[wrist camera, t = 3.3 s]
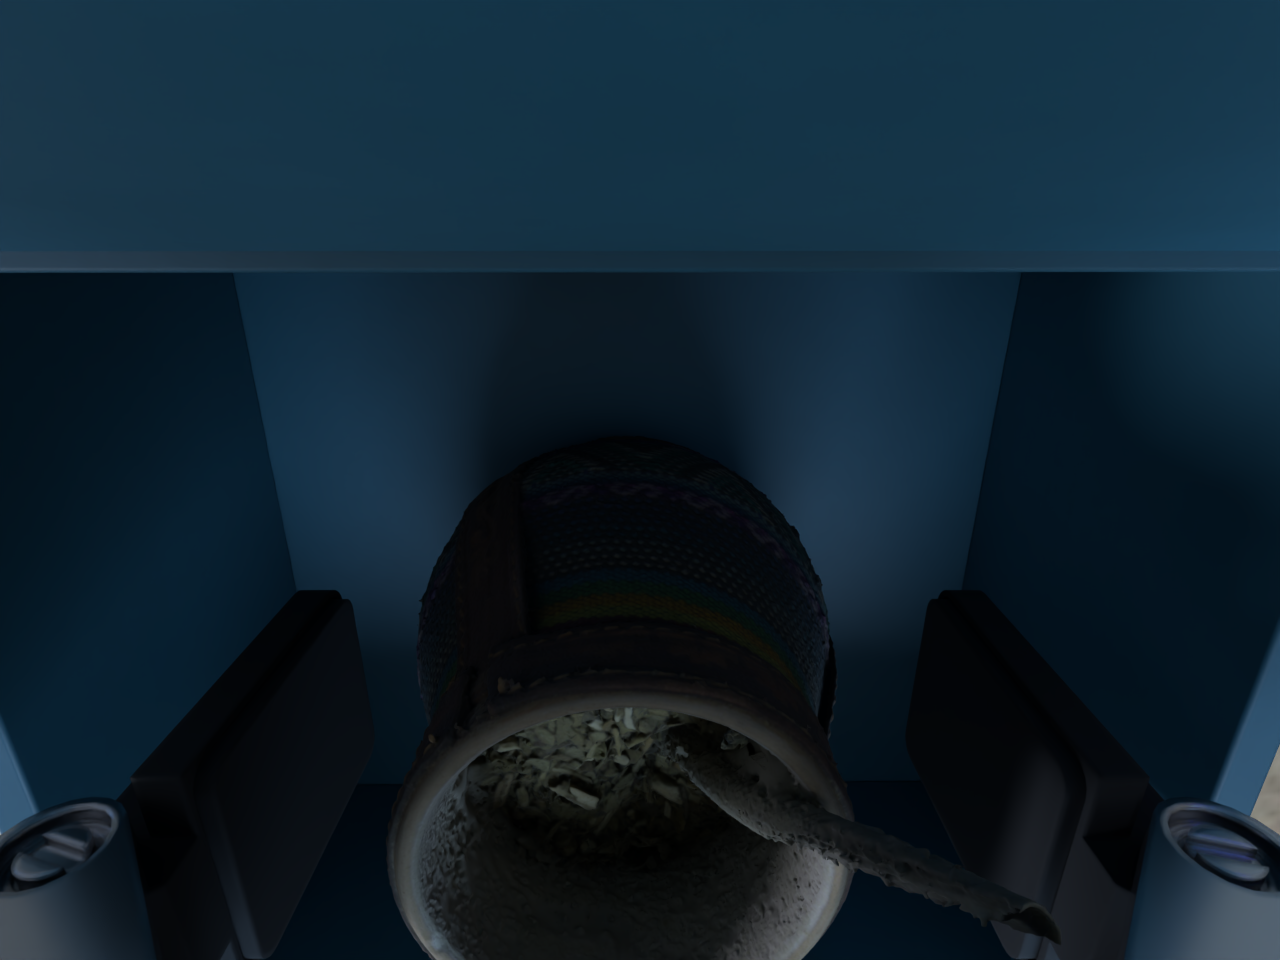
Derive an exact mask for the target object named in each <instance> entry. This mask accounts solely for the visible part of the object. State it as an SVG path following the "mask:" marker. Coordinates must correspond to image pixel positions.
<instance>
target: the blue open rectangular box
mask: <svg viewBox="0 0 1280 960" xmlns="http://www.w3.org/2000/svg"><path fill="white" fill-rule="evenodd" d="M611 436H612V437H613V436H621V437H622V436H634V437H635V436H644V437H647V438H653V439H658V440H664V441H667V442H671V443H674V444H676V445H681V446H684V447H687V448H689V449H691V450H694V451H696V452H699V453H700V454H702V455H704V456H706V457H708V458H711V459H714V460H718V462H719V463H721V464H722V465H723V466H725V467H727V468H729V469H730V470H732V471H735V472H736V473H737V474H738V475H740V476H741V477H742V478H744V479H746V480H748V481H749V482H750V483H752V484H753V486H754V487H755V488H756V489H758V490H759V491H761V492H763V494H766V495H767V498H768V499H769V500H771V501H772V502H771V503H772V504H773V505H774V506H775V507H776V508H777V509H778V510H779V511H780V512H781V513H782V514H783V516H785V517H784V518H785V519H786V521H787V522H788V523H789V525H791V526H795V529H797V531H798V532H799V534H800V541H801V543H802V545H803V547H805V549H806V552H807V554H808V556H809V558H810V559H811V564H812V565H813V567H814V570H815V573H816V574H817V575H819V578H820V579H821V584H823V586H822V592H823V596H824V601H825V604H826V607H827V610H828V622H829V623H830V624H829V629H830V632H829V635H830V637H831V639H832V641H833V648H834V650H835V652H836V654H835V658H836V668H837V675H838V679H837V681H836V683H837V689H836V690H835V695H836V702H835V704H834V705H833V715H834V717H833V720H832V722H831V723H830V731H831V735H830V738H829V739H828V741H829V745H830V748H831V751H832V753H833V758H834V761H835V762H836V763H838V764H837V766H836V767H837V769H838V772H839V774H840V775H841V777H842V779H843V780H844V781H845V782H846V783H847V794H848V796H849V798H850V800H851V802H852V806H853V812H854V814H855V815H854V817H855V821H858V822H859V823H861V824H864V825H868V826H872V827H877V828H881V829H882V830H883V831H884V833H885V834H886V835H893V836H895V837H897V838H899V839H900V840H902V841H904V842H907V843H909V844H910V845H912V846H913V847H915V848H927V849H928V850H929V852H930V855H932V854H934V855H938V856H940V857H942V858H944V859H946V860H947V861H949V862H951V863H953V864H954V865H956V864H958V865H961V866H963V864H962V862H961V860H960V858H959V856H958V854H957V852H956V850H955V848H954V846H953V844H952V842H951V840H950V838H949V836H948V834H947V832H946V830H945V828H944V826H943V824H942V822H941V820H940V818H939V816H938V814H937V812H936V809H935V807H934V805H933V803H932V801H931V799H930V797H929V795H928V793H927V791H926V789H925V787H924V785H923V783H922V781H921V779H920V777H919V775H918V773H917V771H916V769H915V767H914V765H913V763H912V761H911V759H910V757H909V754H908V751H907V747H906V740H905V733H906V726H907V720H908V714H909V708H910V703H911V697H912V691H913V685H914V679H915V674H916V668H917V662H918V656H919V651H920V645H921V639H922V633H923V627H924V622H925V616H926V610H927V606H928V603H929V601H930V600H931V599H938V596H939V595H940V593H941V592H942V591H944V590H981V591H982V592H984V593H985V594H986V595H987V596H988V597H989V598H990V600H991V601H992V602H993V603H994V604H995V605H996V606H997V607H998V609H999V610H1000V611H1001V612H1002V613H1003V614H1004V615H1005V616H1006V617H1007V619H1008V620H1009V621H1010V622H1011V623H1012V624H1013V625H1014V626H1015V627H1016V629H1017V630H1018V631H1019V632H1020V633H1021V634H1022V635H1023V636H1024V637H1025V639H1026V640H1027V641H1028V642H1029V643H1030V644H1031V645H1032V646H1033V647H1034V649H1035V650H1036V651H1037V652H1038V653H1039V654H1040V655H1041V656H1042V658H1043V659H1044V660H1045V661H1046V662H1047V663H1048V664H1049V665H1050V666H1051V668H1052V669H1053V670H1054V671H1055V672H1056V673H1057V674H1058V675H1059V676H1060V678H1061V679H1062V680H1063V681H1064V682H1065V683H1066V684H1067V685H1068V686H1069V688H1070V689H1071V690H1072V691H1073V692H1074V693H1075V694H1076V695H1077V696H1078V698H1079V699H1080V700H1081V701H1082V702H1083V703H1084V704H1085V705H1086V707H1087V708H1088V709H1089V710H1090V711H1091V712H1092V713H1093V714H1094V715H1095V717H1096V718H1097V719H1098V720H1099V721H1100V722H1101V723H1102V724H1103V725H1104V727H1105V728H1106V729H1107V730H1108V731H1109V732H1110V733H1111V734H1112V735H1113V737H1114V738H1115V739H1116V740H1117V741H1118V742H1119V743H1120V744H1121V745H1122V747H1123V748H1124V749H1125V750H1126V751H1127V752H1128V753H1129V754H1130V756H1131V757H1132V758H1133V759H1134V760H1135V761H1136V762H1137V763H1138V764H1139V766H1140V767H1141V768H1142V769H1143V770H1144V771H1145V772H1146V773H1147V774H1148V776H1149V777H1150V780H1149V784H1150V785H1151V786H1152V787H1153V788H1154V789H1155V790H1156V791H1157V793H1158V794H1159V795H1160V796H1161V797H1162V798H1163V799H1164V800H1167V799H1169V798H1175V797H1193V798H1199V799H1206V800H1210V801H1213V802H1216V803H1219V804H1222V805H1225V806H1228V807H1231V808H1234V809H1236V810H1238V811H1240V812H1242V813H1244V814H1246V815H1248V816H1250V815H1251V812H1252V810H1253V808H1254V805H1255V803H1256V800H1257V798H1258V796H1259V793H1260V791H1261V788H1262V786H1263V783H1264V781H1265V779H1266V776H1267V774H1268V771H1269V769H1270V766H1271V764H1272V762H1273V759H1274V757H1275V754H1276V752H1277V749H1278V747H1279V745H1280V251H0V833H1V834H2V833H4V832H6V831H7V830H9V829H10V828H12V827H13V826H15V825H16V824H18V823H19V822H21V821H22V820H24V819H26V818H28V817H30V816H32V815H34V814H36V813H38V812H40V811H42V810H44V809H46V808H49V807H52V806H55V805H58V804H61V803H64V802H67V801H70V800H74V799H81V798H87V797H105V798H111V799H113V800H116V799H117V798H118V797H119V796H120V795H121V794H122V793H123V791H124V790H125V789H126V788H127V787H128V786H129V785H130V784H131V780H130V777H131V776H132V774H133V773H134V772H135V771H136V770H137V769H138V768H139V767H140V766H141V764H142V763H143V762H144V761H145V760H146V759H147V758H148V757H149V756H150V754H151V753H152V752H153V751H154V750H155V749H156V748H157V747H158V745H159V744H160V743H161V742H162V741H163V740H164V739H165V738H166V737H167V735H168V734H169V733H170V732H171V731H172V730H173V729H174V728H175V727H176V725H177V724H178V723H179V722H180V721H181V720H182V719H183V718H184V717H185V715H186V714H187V713H188V712H189V711H190V710H191V709H192V708H193V707H194V705H195V704H196V703H197V702H198V701H199V700H200V699H201V698H202V696H203V695H204V694H205V693H206V692H207V691H208V690H209V689H210V688H211V686H212V685H213V684H214V683H215V682H216V681H217V680H218V679H219V678H220V676H221V675H222V674H223V673H224V672H225V671H226V670H227V669H228V668H229V666H230V665H231V664H232V663H233V662H234V661H235V660H236V659H237V658H238V656H239V655H240V654H241V653H242V652H243V651H244V650H245V649H246V647H247V646H248V645H249V644H250V643H251V642H252V641H253V640H254V639H255V637H256V636H257V635H258V634H259V633H260V632H261V631H262V630H263V629H264V627H265V626H266V625H267V624H268V623H269V622H270V621H271V620H272V619H273V617H274V616H275V615H276V614H277V613H278V612H279V611H280V610H281V609H282V607H283V606H284V605H285V604H286V603H287V602H288V601H289V600H290V598H291V597H292V596H293V595H294V594H295V593H296V592H298V591H299V590H336V591H338V592H339V593H340V595H341V596H342V599H349V600H350V601H351V603H352V606H353V610H354V616H355V622H356V627H357V633H358V639H359V645H360V651H361V656H362V662H363V668H364V674H365V679H366V685H367V691H368V697H369V703H370V708H371V714H372V720H373V726H374V733H375V740H374V747H373V751H372V754H371V757H370V759H369V761H368V763H367V765H366V767H365V769H364V771H363V773H362V775H361V777H360V779H359V781H358V783H357V785H356V787H355V789H354V791H353V793H352V795H351V797H350V799H349V801H348V803H347V805H346V807H345V809H344V812H343V814H342V816H341V818H340V820H339V822H338V824H337V826H336V828H335V830H334V832H333V834H332V836H331V838H330V840H329V842H328V844H327V846H326V848H325V850H324V852H323V854H322V856H321V858H320V860H319V862H318V864H317V866H316V868H315V870H314V872H313V874H312V877H311V879H310V881H309V883H308V885H307V887H306V889H305V891H304V893H303V895H302V897H301V899H300V901H299V903H298V905H297V907H296V909H295V911H294V913H293V915H292V917H291V919H290V921H289V923H288V925H287V927H286V929H285V931H284V933H283V935H282V937H281V939H280V942H279V944H278V946H277V947H276V949H275V951H274V952H273V954H272V955H271V956H270V957H268V958H266V959H260V960H432V959H431V958H430V957H429V955H428V954H427V953H426V952H424V951H423V950H422V948H421V946H420V945H419V944H418V942H417V941H416V940H415V939H414V937H413V935H412V934H411V932H410V931H409V929H408V927H407V926H406V924H405V922H404V920H403V918H402V916H401V914H400V911H399V908H398V907H397V905H396V902H395V900H394V897H393V892H392V888H391V885H390V884H389V882H390V881H389V876H388V871H387V867H388V866H387V861H386V857H387V846H386V837H387V836H388V823H389V820H390V819H391V818H392V814H391V811H392V806H393V804H394V802H395V801H396V800H397V794H398V791H399V789H400V788H401V787H402V786H403V782H404V778H405V775H406V774H407V772H408V771H409V770H410V769H411V768H412V762H413V761H415V758H416V750H417V748H418V746H419V745H420V743H421V740H422V741H423V735H424V732H425V729H426V728H427V727H428V726H429V725H428V721H427V718H426V713H425V709H424V703H423V700H421V697H420V696H421V694H420V686H419V682H418V675H417V671H418V670H417V665H418V664H417V648H416V646H417V642H418V630H419V626H418V625H419V615H418V613H420V611H421V607H422V602H420V601H419V600H421V599H422V596H423V595H424V593H425V592H426V589H427V585H428V582H429V580H430V577H431V573H432V571H433V567H434V566H435V565H436V562H437V559H438V557H439V556H440V555H441V553H442V551H443V549H444V546H446V544H447V543H448V542H449V540H450V538H451V536H452V535H453V533H454V531H455V527H457V525H458V524H459V522H460V520H461V519H462V516H463V514H464V511H465V510H466V508H467V507H468V505H469V503H471V502H472V501H473V500H474V499H475V498H476V497H477V496H478V495H479V494H480V493H481V492H482V491H483V490H484V489H485V488H486V487H488V486H489V485H490V484H491V483H493V482H494V481H495V480H497V479H499V478H501V477H503V476H505V475H506V474H508V473H510V472H511V471H513V470H514V469H515V468H516V467H518V465H520V464H522V463H523V462H527V461H528V460H530V459H532V458H534V457H539V455H542V454H543V453H548V452H550V451H552V450H555V449H557V450H559V449H561V448H567V447H569V446H572V445H579V444H581V443H586V442H588V441H590V442H591V441H592V440H594V441H595V440H597V439H598V438H606V437H611ZM547 451H548V452H547ZM841 773H842V774H841ZM961 868H962V869H964V870H965V868H964V867H961ZM960 906H961V904H960V905H952V906H948V907H943V906H942V905H939V904H936V903H934V902H933V901H932V900H931V899H930V898H929V899H926V898H925V897H924V895H923V894H918V893H909V892H907V891H905V890H904V889H902V888H900V887H894V886H890V887H888V886H886V885H885V883H884V882H883V880H882V879H881V878H880V877H878V876H874V875H871V874H868V873H865V872H863V871H862V870H861V869H858V870H857V872H854V875H853V878H852V882H851V885H850V888H849V891H848V894H847V897H846V900H845V901H844V903H843V905H842V907H841V909H840V910H839V912H838V914H837V916H836V917H835V919H834V921H833V922H832V924H831V925H830V927H829V928H828V929H827V931H826V932H825V933H824V935H823V936H822V937H821V938H820V939H819V941H818V942H817V943H816V944H815V945H814V947H813V948H812V949H811V950H810V951H809V952H808V953H807V954H806V955H805V956H804V957H803V958H802V959H801V960H1020V959H1014V958H1012V957H1010V956H1009V955H1008V954H1007V952H1006V951H1005V949H1004V947H1003V946H1002V944H1001V942H1000V939H999V937H998V935H997V933H996V931H995V929H994V927H993V925H992V923H991V921H988V922H987V926H986V927H982V926H981V920H980V919H979V918H973V915H972V914H971V913H969V912H964V911H962V910H961V909H960V908H959V907H960Z"/></svg>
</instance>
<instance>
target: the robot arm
mask: <svg viewBox="0 0 1280 960" xmlns="http://www.w3.org/2000/svg"><path fill="white" fill-rule="evenodd" d="M374 740H375V733H374V726H373V720H372V714H371V708H370V703H369V697H368V691H367V685H366V679H365V674H364V668H363V662H362V656H361V651H360V645H359V639H358V633H357V627H356V622H355V616H354V610H353V606H352V603H351V601H350V600H349V599H342V596H341V595H340V593H339V592H338V591H336V590H299V591H298V592H296V593H295V594H294V595H293V596H292V597H291V598H290V600H289V601H288V602H287V603H286V604H285V605H284V606H283V607H282V609H281V610H280V611H279V612H278V613H277V614H276V615H275V616H274V617H273V619H272V620H271V621H270V622H269V623H268V624H267V625H266V626H265V627H264V629H263V630H262V631H261V632H260V633H259V634H258V635H257V636H256V637H255V639H254V640H253V641H252V642H251V643H250V644H249V645H248V646H247V647H246V649H245V650H244V651H243V652H242V653H241V654H240V655H239V656H238V658H237V659H236V660H235V661H234V662H233V663H232V664H231V665H230V666H229V668H228V669H227V670H226V671H225V672H224V673H223V674H222V675H221V676H220V678H219V679H218V680H217V681H216V682H215V683H214V684H213V685H212V686H211V688H210V689H209V690H208V691H207V692H206V693H205V694H204V695H203V696H202V698H201V699H200V700H199V701H198V702H197V703H196V704H195V705H194V707H193V708H192V709H191V710H190V711H189V712H188V713H187V714H186V715H185V717H184V718H183V719H182V720H181V721H180V722H179V723H178V724H177V725H176V727H175V728H174V729H173V730H172V731H171V732H170V733H169V734H168V735H167V737H166V738H165V739H164V740H163V741H162V742H161V743H160V744H159V745H158V747H157V748H156V749H155V750H154V751H153V752H152V753H151V754H150V756H149V757H148V758H147V759H146V760H145V761H144V762H143V763H142V764H141V766H140V767H139V768H138V769H137V770H136V771H135V772H134V773H133V774H132V776H131V777H130V780H131V784H130V785H129V786H128V787H127V788H126V789H125V790H124V791H123V793H122V794H121V795H120V796H119V797H118V798H117V799H116V800H113V799H111V798H105V797H87V798H81V799H74V800H70V801H67V802H64V803H61V804H58V805H55V806H52V807H49V808H46V809H44V810H42V811H40V812H38V813H36V814H34V815H32V816H30V817H28V818H26V819H24V820H22V821H21V822H19V823H18V824H16V825H15V826H13V827H12V828H10V829H9V830H7V831H6V832H4V833H2V834H1V835H0V960H260V959H266V958H268V957H270V956H271V955H272V954H273V952H274V951H275V949H276V947H277V946H278V944H279V942H280V939H281V937H282V935H283V933H284V931H285V929H286V927H287V925H288V923H289V921H290V919H291V917H292V915H293V913H294V911H295V909H296V907H297V905H298V903H299V901H300V899H301V897H302V895H303V893H304V891H305V889H306V887H307V885H308V883H309V881H310V879H311V877H312V874H313V872H314V870H315V868H316V866H317V864H318V862H319V860H320V858H321V856H322V854H323V852H324V850H325V848H326V846H327V844H328V842H329V840H330V838H331V836H332V834H333V832H334V830H335V828H336V826H337V824H338V822H339V820H340V818H341V816H342V814H343V812H344V809H345V807H346V805H347V803H348V801H349V799H350V797H351V795H352V793H353V791H354V789H355V787H356V785H357V783H358V781H359V779H360V777H361V775H362V773H363V771H364V769H365V767H366V765H367V763H368V761H369V759H370V757H371V754H372V751H373V747H374ZM905 740H906V747H907V751H908V754H909V757H910V759H911V761H912V763H913V765H914V767H915V769H916V771H917V773H918V775H919V777H920V779H921V781H922V783H923V785H924V787H925V789H926V791H927V793H928V795H929V797H930V799H931V801H932V803H933V805H934V807H935V809H936V812H937V814H938V816H939V818H940V820H941V822H942V824H943V826H944V828H945V830H946V832H947V834H948V836H949V838H950V840H951V842H952V844H953V846H954V848H955V850H956V852H957V854H958V856H959V858H960V860H961V862H962V864H963V866H964V868H965V870H967V871H970V872H973V873H974V874H976V875H977V876H979V877H982V878H984V879H986V880H989V881H991V882H994V883H995V884H997V885H1000V886H1002V887H1004V888H1006V889H1008V890H1010V891H1012V892H1014V893H1016V894H1019V895H1021V896H1024V897H1026V898H1029V899H1031V900H1033V901H1035V902H1037V903H1039V904H1042V905H1044V906H1045V907H1046V909H1047V911H1048V912H1049V913H1050V914H1051V916H1052V917H1053V918H1054V921H1055V923H1056V924H1057V925H1058V926H1059V927H1060V930H1061V945H1058V944H1055V943H1054V942H1052V941H1051V940H1049V939H1047V938H1045V937H1040V936H1035V935H1033V934H1027V933H1023V932H1020V931H1018V930H1013V929H1012V928H1011V927H1010V926H1009V925H1006V924H1002V923H1000V922H997V921H993V920H990V921H991V923H992V925H993V927H994V929H995V931H996V933H997V935H998V937H999V939H1000V942H1001V944H1002V946H1003V947H1004V949H1005V951H1006V952H1007V954H1008V955H1009V956H1010V957H1012V958H1014V959H1020V960H1280V835H1279V834H1278V833H1276V832H1274V831H1273V830H1271V829H1270V828H1268V827H1267V826H1265V825H1264V824H1262V823H1261V822H1259V821H1258V820H1256V819H1254V818H1252V817H1250V816H1248V815H1246V814H1244V813H1242V812H1240V811H1238V810H1236V809H1234V808H1231V807H1228V806H1225V805H1222V804H1219V803H1216V802H1213V801H1210V800H1206V799H1199V798H1193V797H1175V798H1169V799H1167V800H1164V799H1163V798H1162V797H1161V796H1160V795H1159V794H1158V793H1157V791H1156V790H1155V789H1154V788H1153V787H1152V786H1151V785H1150V784H1149V780H1150V777H1149V776H1148V774H1147V773H1146V772H1145V771H1144V770H1143V769H1142V768H1141V767H1140V766H1139V764H1138V763H1137V762H1136V761H1135V760H1134V759H1133V758H1132V757H1131V756H1130V754H1129V753H1128V752H1127V751H1126V750H1125V749H1124V748H1123V747H1122V745H1121V744H1120V743H1119V742H1118V741H1117V740H1116V739H1115V738H1114V737H1113V735H1112V734H1111V733H1110V732H1109V731H1108V730H1107V729H1106V728H1105V727H1104V725H1103V724H1102V723H1101V722H1100V721H1099V720H1098V719H1097V718H1096V717H1095V715H1094V714H1093V713H1092V712H1091V711H1090V710H1089V709H1088V708H1087V707H1086V705H1085V704H1084V703H1083V702H1082V701H1081V700H1080V699H1079V698H1078V696H1077V695H1076V694H1075V693H1074V692H1073V691H1072V690H1071V689H1070V688H1069V686H1068V685H1067V684H1066V683H1065V682H1064V681H1063V680H1062V679H1061V678H1060V676H1059V675H1058V674H1057V673H1056V672H1055V671H1054V670H1053V669H1052V668H1051V666H1050V665H1049V664H1048V663H1047V662H1046V661H1045V660H1044V659H1043V658H1042V656H1041V655H1040V654H1039V653H1038V652H1037V651H1036V650H1035V649H1034V647H1033V646H1032V645H1031V644H1030V643H1029V642H1028V641H1027V640H1026V639H1025V637H1024V636H1023V635H1022V634H1021V633H1020V632H1019V631H1018V630H1017V629H1016V627H1015V626H1014V625H1013V624H1012V623H1011V622H1010V621H1009V620H1008V619H1007V617H1006V616H1005V615H1004V614H1003V613H1002V612H1001V611H1000V610H999V609H998V607H997V606H996V605H995V604H994V603H993V602H992V601H991V600H990V598H989V597H988V596H987V595H986V594H985V593H984V592H982V591H981V590H944V591H942V592H941V593H940V595H939V596H938V599H931V600H930V601H929V603H928V606H927V610H926V616H925V622H924V627H923V633H922V639H921V645H920V651H919V656H918V662H917V668H916V674H915V679H914V685H913V691H912V697H911V703H910V708H909V714H908V720H907V726H906V733H905Z"/></svg>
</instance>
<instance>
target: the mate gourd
mask: <svg viewBox="0 0 1280 960" xmlns="http://www.w3.org/2000/svg"><path fill="white" fill-rule="evenodd" d="M547 452H548V451H547ZM771 502H772V501H771V500H769V499H768V498H767V495H766V494H763V492H761V491H759V490H758V489H756V488H755V487H754V486H753V484H752V483H750V482H749V481H748V480H746V479H744V478H742V477H741V476H740V475H738V474H737V473H736V472H735V471H732V470H730V469H729V468H727V467H725V466H723V465H722V464H721V463H719V462H718V460H714V459H711V458H708V457H706V456H704V455H702V454H700V453H699V452H696V451H694V450H691V449H689V448H687V447H684V446H681V445H676V444H674V443H671V442H667V441H664V440H658V439H653V438H647V437H644V436H635V437H634V436H622V437H621V436H613V437H612V436H611V437H606V438H598V439H597V440H595V441H594V440H592V441H591V442H590V441H588V442H586V443H581V444H579V445H572V446H569V447H567V448H561V449H559V450H557V449H555V450H552V451H550V452H548V453H543V454H542V455H539V457H534V458H532V459H530V460H528V461H527V462H523V463H522V464H520V465H518V467H516V468H515V469H514V470H513V471H511V472H510V473H508V474H506V475H505V476H503V477H501V478H499V479H497V480H495V481H494V482H493V483H491V484H490V485H489V486H488V487H486V488H485V489H484V490H483V491H482V492H481V493H480V494H479V495H478V496H477V497H476V498H475V499H474V500H473V501H472V502H471V503H469V505H468V507H467V508H466V510H465V511H464V514H463V516H462V519H461V520H460V522H459V524H458V525H457V527H455V531H454V533H453V535H452V536H451V538H450V540H449V542H448V543H447V544H446V546H444V549H443V551H442V553H441V555H440V556H439V557H438V559H437V562H436V565H435V566H434V567H433V571H432V573H431V577H430V580H429V582H428V585H427V589H426V592H425V593H424V595H423V596H422V599H421V600H419V601H420V602H422V607H421V611H420V613H418V615H419V625H418V626H419V630H418V642H417V646H416V648H417V664H418V665H417V670H418V671H417V675H418V682H419V686H420V694H421V696H420V697H421V700H423V703H424V709H425V713H426V718H427V721H428V725H429V726H428V727H427V728H426V729H425V732H424V735H423V741H422V740H421V743H420V745H419V746H418V748H417V750H416V758H415V761H413V762H412V768H411V769H410V770H409V771H408V772H407V774H406V775H405V778H404V782H403V786H402V787H401V788H400V789H399V791H398V794H397V800H396V801H395V802H394V804H393V806H392V811H391V814H392V818H391V819H390V820H389V823H388V836H387V837H386V846H387V857H386V861H387V866H388V867H387V871H388V876H389V881H390V882H389V884H390V885H391V888H392V892H393V897H394V900H395V902H396V905H397V907H398V908H399V911H400V914H401V916H402V918H403V920H404V922H405V924H406V926H407V927H408V929H409V931H410V932H411V934H412V935H413V937H414V939H415V940H416V941H417V942H418V944H419V945H420V946H421V948H422V950H423V951H424V952H426V953H427V954H428V955H429V957H430V958H431V959H432V960H801V959H802V958H803V957H804V956H805V955H806V954H807V953H808V952H809V951H810V950H811V949H812V948H813V947H814V945H815V944H816V943H817V942H818V941H819V939H820V938H821V937H822V936H823V935H824V933H825V932H826V931H827V929H828V928H829V927H830V925H831V924H832V922H833V921H834V919H835V917H836V916H837V914H838V912H839V910H840V909H841V907H842V905H843V903H844V901H845V900H846V897H847V894H848V891H849V888H850V885H851V882H852V878H853V875H854V872H857V870H858V869H861V870H862V871H863V872H865V873H868V874H871V875H874V876H878V877H880V878H881V879H882V880H883V882H884V883H885V885H886V886H888V887H890V886H894V887H900V888H902V889H904V890H905V891H907V892H909V893H918V894H923V895H924V897H925V898H926V899H929V898H930V899H931V900H932V901H933V902H934V903H936V904H939V905H942V906H943V907H948V906H952V905H960V904H961V906H960V907H959V908H960V909H961V910H962V911H964V912H969V913H971V914H972V915H973V918H979V919H980V920H981V926H982V927H986V926H987V922H988V921H990V920H993V921H997V922H1000V923H1002V924H1006V925H1009V926H1010V927H1011V928H1012V929H1013V930H1018V931H1020V932H1023V933H1027V934H1033V935H1035V936H1040V937H1045V938H1047V939H1049V940H1051V941H1052V942H1054V943H1055V944H1058V945H1061V930H1060V927H1059V926H1058V925H1057V924H1056V923H1055V921H1054V918H1053V917H1052V916H1051V914H1050V913H1049V912H1048V911H1047V909H1046V907H1045V906H1044V905H1042V904H1039V903H1037V902H1035V901H1033V900H1031V899H1029V898H1026V897H1024V896H1021V895H1019V894H1016V893H1014V892H1012V891H1010V890H1008V889H1006V888H1004V887H1002V886H1000V885H997V884H995V883H994V882H991V881H989V880H986V879H984V878H982V877H979V876H977V875H976V874H974V873H973V872H970V871H967V870H964V869H962V868H961V867H964V866H961V865H958V864H956V865H954V864H953V863H951V862H949V861H947V860H946V859H944V858H942V857H940V856H938V855H934V854H932V855H930V852H929V850H928V849H927V848H915V847H913V846H912V845H910V844H909V843H907V842H904V841H902V840H900V839H899V838H897V837H895V836H893V835H886V834H885V833H884V831H883V830H882V829H881V828H877V827H872V826H868V825H864V824H861V823H859V822H858V821H855V817H854V815H855V814H854V812H853V806H852V802H851V800H850V798H849V796H848V794H847V783H846V782H845V781H844V780H843V779H842V777H841V775H840V774H839V772H838V769H837V767H836V766H837V764H838V763H836V762H835V761H834V758H833V753H832V751H831V748H830V745H829V741H828V739H829V738H830V735H831V731H830V723H831V722H832V720H833V717H834V715H833V705H834V704H835V702H836V695H835V690H836V689H837V683H836V681H837V679H838V675H837V668H836V658H835V654H836V652H835V650H834V648H833V641H832V639H831V637H830V635H829V632H830V629H829V624H830V623H829V622H828V610H827V607H826V604H825V601H824V596H823V592H822V586H823V584H821V579H820V578H819V575H817V574H816V573H815V570H814V567H813V565H812V564H811V559H810V558H809V556H808V554H807V552H806V549H805V547H803V545H802V543H801V541H800V534H799V532H798V531H797V529H795V526H791V525H789V523H788V522H787V521H786V519H785V518H784V517H785V516H783V514H782V513H781V512H780V511H779V510H778V509H777V508H776V507H775V506H774V505H773V504H772V503H771ZM841 774H842V773H841Z"/></svg>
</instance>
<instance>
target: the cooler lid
mask: <svg viewBox="0 0 1280 960" xmlns="http://www.w3.org/2000/svg"><path fill="white" fill-rule="evenodd" d="M0 251H1280V0H0Z"/></svg>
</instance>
